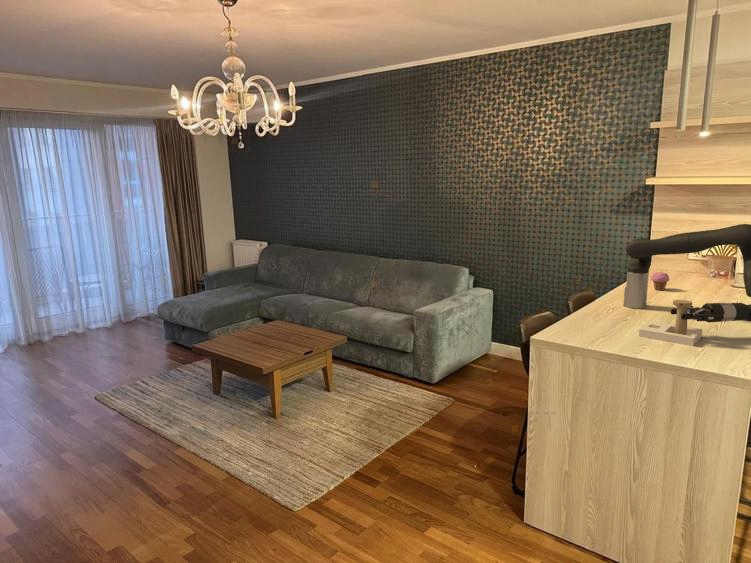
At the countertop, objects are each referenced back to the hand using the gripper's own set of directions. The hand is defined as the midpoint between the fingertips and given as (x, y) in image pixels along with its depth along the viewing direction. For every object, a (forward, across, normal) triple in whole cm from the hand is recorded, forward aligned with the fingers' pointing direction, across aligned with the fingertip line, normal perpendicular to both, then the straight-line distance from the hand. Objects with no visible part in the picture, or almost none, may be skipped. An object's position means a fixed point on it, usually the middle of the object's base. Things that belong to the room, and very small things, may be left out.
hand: (676, 314), depth 197 cm
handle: (-3, 0, +10) cm, 11 cm away
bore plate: (0, -2, +10) cm, 10 cm away
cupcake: (-38, -77, +10) cm, 87 cm away
